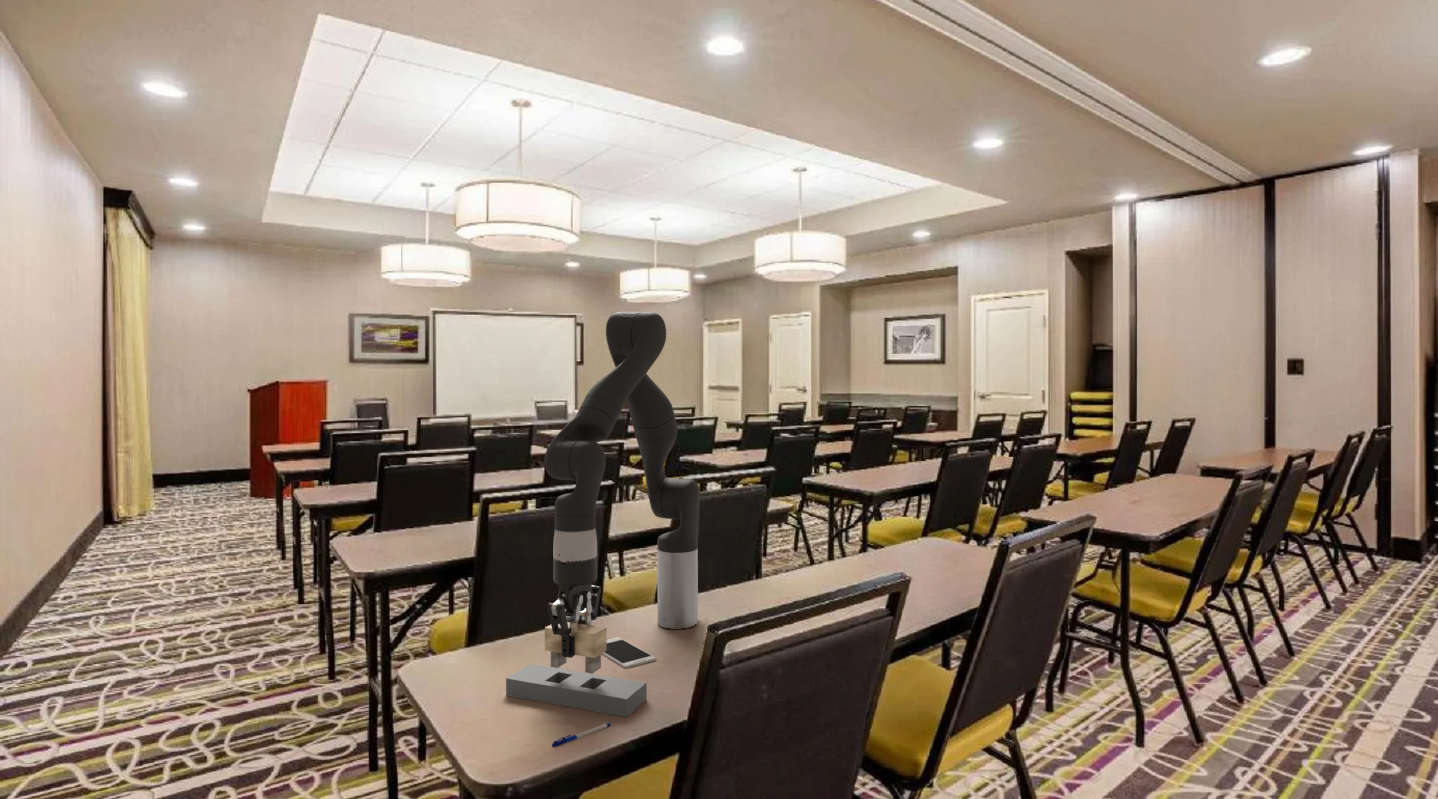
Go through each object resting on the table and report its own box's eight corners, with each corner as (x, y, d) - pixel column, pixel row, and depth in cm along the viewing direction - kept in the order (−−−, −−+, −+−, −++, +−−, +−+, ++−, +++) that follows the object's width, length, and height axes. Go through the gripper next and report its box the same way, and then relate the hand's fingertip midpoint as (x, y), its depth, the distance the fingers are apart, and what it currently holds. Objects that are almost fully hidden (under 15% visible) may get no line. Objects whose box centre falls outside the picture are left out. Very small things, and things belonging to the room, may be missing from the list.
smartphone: (618, 640, 158) (618, 636, 158) (656, 661, 146) (656, 657, 146) (588, 648, 154) (588, 643, 154) (625, 670, 142) (625, 665, 142)
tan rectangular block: (544, 667, 128) (544, 627, 128) (557, 659, 132) (557, 621, 132) (594, 675, 124) (594, 634, 124) (606, 667, 128) (606, 627, 128)
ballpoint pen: (554, 749, 110) (554, 742, 110) (551, 747, 111) (551, 741, 111) (611, 726, 118) (611, 720, 118) (608, 725, 118) (608, 719, 118)
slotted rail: (506, 695, 129) (506, 678, 129) (530, 679, 136) (530, 663, 136) (626, 717, 121) (626, 699, 121) (646, 699, 127) (646, 682, 127)
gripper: (578, 544, 136) (579, 637, 136) (532, 561, 123) (533, 663, 123) (614, 547, 133) (614, 642, 133) (571, 565, 120) (571, 669, 120)
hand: (575, 651), depth 128 cm, fingers closed on tan rectangular block, 4 cm apart
